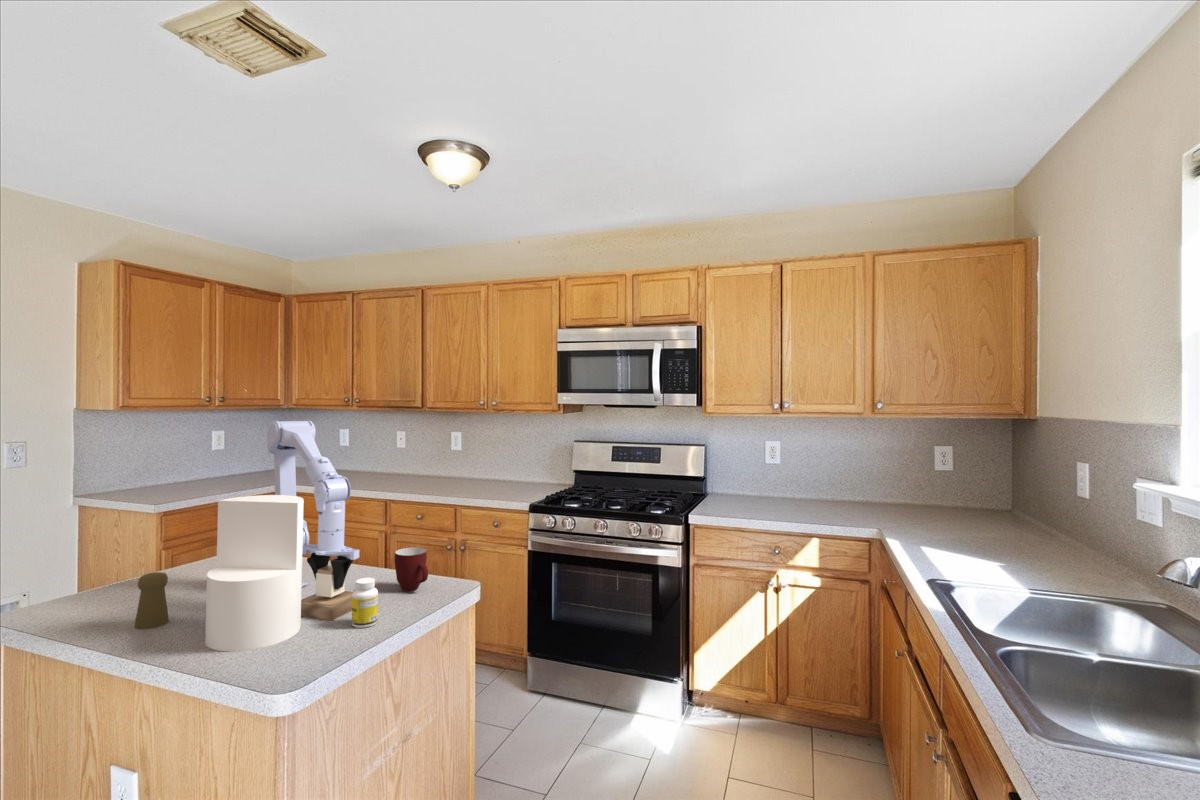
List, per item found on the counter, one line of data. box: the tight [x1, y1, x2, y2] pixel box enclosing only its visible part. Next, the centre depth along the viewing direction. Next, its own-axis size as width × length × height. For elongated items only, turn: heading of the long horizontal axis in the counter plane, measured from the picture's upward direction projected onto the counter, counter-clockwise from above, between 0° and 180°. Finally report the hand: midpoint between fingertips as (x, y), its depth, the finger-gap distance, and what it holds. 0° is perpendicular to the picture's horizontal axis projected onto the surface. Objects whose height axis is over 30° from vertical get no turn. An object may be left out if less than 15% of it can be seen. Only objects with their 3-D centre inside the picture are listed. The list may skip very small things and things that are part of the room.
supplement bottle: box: [351, 577, 379, 629], centre depth 127 cm, size 5×5×10 cm
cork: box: [134, 571, 170, 630], centre depth 124 cm, size 6×6×11 cm
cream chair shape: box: [204, 494, 305, 652], centre depth 120 cm, size 17×17×28 cm
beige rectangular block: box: [315, 564, 346, 597], centre depth 134 cm, size 4×4×6 cm
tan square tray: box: [301, 590, 354, 622], centre depth 134 cm, size 10×10×3 cm
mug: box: [393, 547, 429, 592], centre depth 150 cm, size 10×8×10 cm
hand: (329, 586), depth 134 cm, fingers closed on beige rectangular block, 4 cm apart
